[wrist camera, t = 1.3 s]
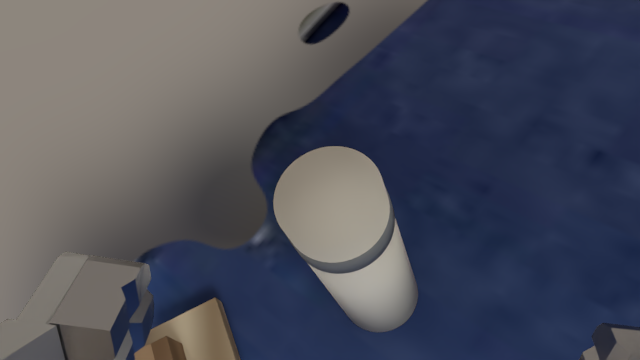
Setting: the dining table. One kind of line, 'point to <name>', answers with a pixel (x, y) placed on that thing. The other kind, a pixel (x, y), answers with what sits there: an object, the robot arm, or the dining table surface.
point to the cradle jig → (192, 336)
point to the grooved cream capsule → (348, 235)
